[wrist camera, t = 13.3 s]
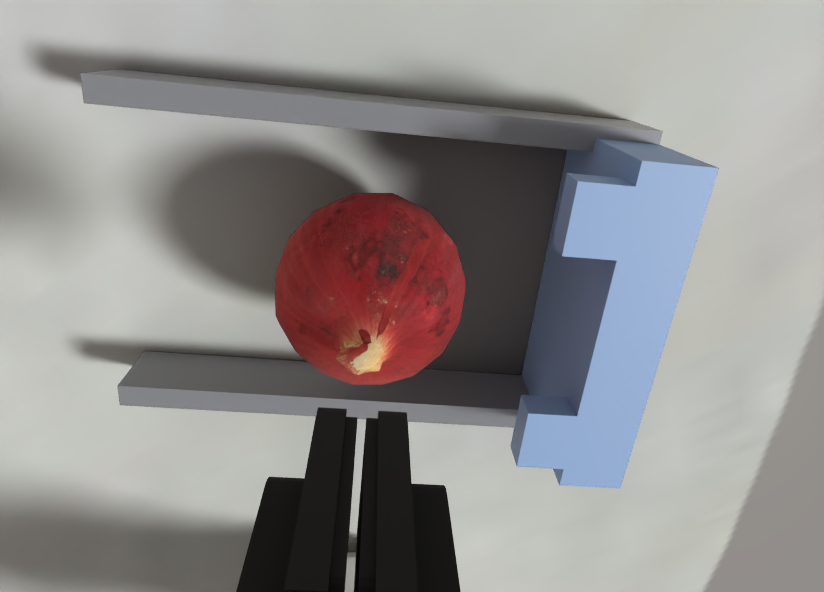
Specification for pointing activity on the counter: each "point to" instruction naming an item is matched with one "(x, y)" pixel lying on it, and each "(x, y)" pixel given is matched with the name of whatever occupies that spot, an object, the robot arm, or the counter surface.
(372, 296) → the pomegranate
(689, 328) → the counter surface
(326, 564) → the robot arm
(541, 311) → the blue bracket
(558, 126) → the grey parallel strips
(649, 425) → the counter surface
